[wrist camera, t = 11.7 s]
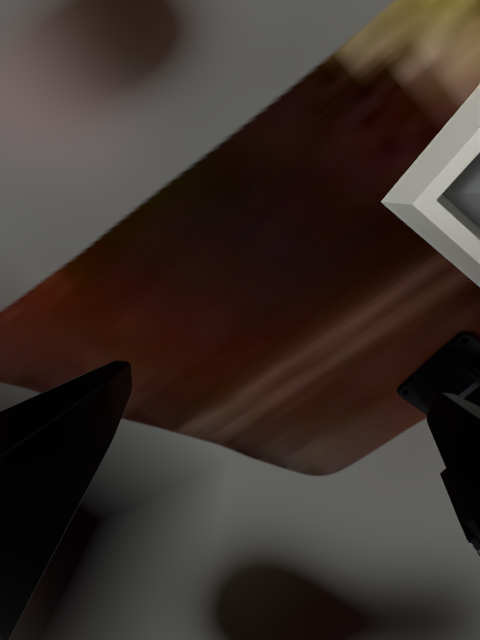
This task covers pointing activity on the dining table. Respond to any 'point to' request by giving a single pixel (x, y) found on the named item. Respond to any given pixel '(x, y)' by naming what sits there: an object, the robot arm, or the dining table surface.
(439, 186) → the socket box
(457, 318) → the dining table surface
